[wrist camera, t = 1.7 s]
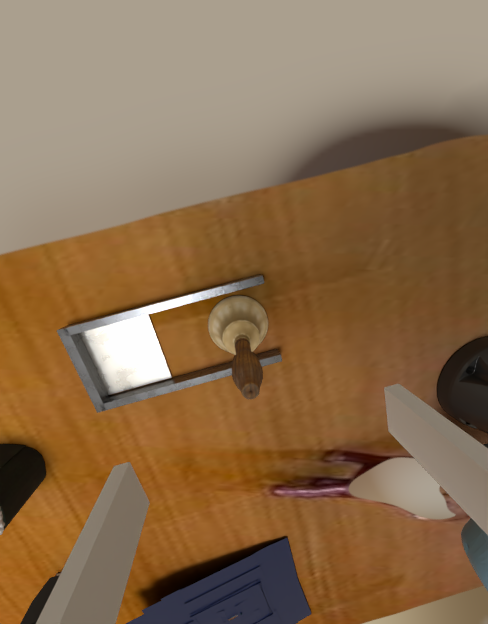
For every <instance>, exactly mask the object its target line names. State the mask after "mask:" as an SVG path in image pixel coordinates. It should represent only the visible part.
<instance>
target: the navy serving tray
mask: <svg viewBox="0 0 488 624" xmlns="http://www.w3.org/2000/svg"><path fill="white" fill-rule="evenodd" d="M161 600H162V601H160V602H158V603H156V604H154V605H152V606H150V607H148V608H146V609H144V610H142V611H143V613H144V615H142V616H140V617H138V618H136V619H134V620H132V621H130V622H128V623H126V624H296V623H298V621H300V620H302V619H304V618H305V617H307V616H309V615H310V614H311V611H310V609H309V606H308V604H307V601H306V599H305V596H304V594H303V591H302V589H301V586H300V584H299V581H298V578H297V574H296V570H295V566H294V562H293V558H292V554H291V550H290V546H289V542H288V538H285V539H283V540H281V541H279V542H276V543H274V544H272V545H269V546H267V547H265V548H263V549H261V550H260V551H258V552H256V553H254V554H252V555H251V556H249V557H247V558H245V559H243V560H241V561H239V562H237V563H235V564H233V565H231V566H229V567H227V568H225V569H223V570H220V571H218V572H216V573H214V574H212V575H210V576H208V577H206V578H204V579H202V580H200V581H198V582H196V583H194V584H192V585H190V586H188V587H186V588H182V589H180V590H178V591H176V592H174V593H172V594H170V595H168V596H166V597H164V598H162V599H161Z"/></svg>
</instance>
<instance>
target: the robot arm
mask: <svg viewBox="0 0 488 624" xmlns="http://www.w3.org/2000/svg"><path fill="white" fill-rule="evenodd" d="M384 390H385V400H386V410H387V420H388V430H389V432H390V433H391V434H392V435H393V436H394V437H395V438H396V439H397V441H398V442H399V443H400V444H401V445H402V446H403V447H404V448H405V449H406V450H407V451H408V452H409V453H410V454H411V455H412V456H413V457H414V458H415V459H416V460H417V462H418V463H419V464H420V465H421V466H422V467H423V468H424V469H425V470H426V471H427V472H428V473H429V474H430V475H431V476H432V477H433V478H434V479H435V480H436V481H437V483H438V484H439V485H440V486H441V487H442V488H443V489H444V490H445V491H446V492H447V493H448V494H449V495H450V496H451V497H452V498H453V499H454V500H455V501H456V502H457V504H458V505H459V506H460V507H461V508H462V509H463V510H464V511H465V512H466V513H467V514H468V515H469V516H470V517H471V519H470V520H469V521H468V522H467V523H466V524H465V526H464V527H463V529H462V532H461V538H462V543H463V547H464V550H465V552H466V554H467V556H468V558H469V561H470V563H471V565H472V567H473V568H474V570H475V572H476V573H477V575H478V577H479V578H480V580H481V582H482V583H483V585H484V586H485V588H486V589H487V591H488V444H484V445H482V444H481V443H480V442H478V441H477V440H476V439H474V438H473V437H471V436H470V435H469V434H467V433H466V432H465V431H463V430H462V429H460V428H459V427H458V426H456V425H455V424H453V423H452V422H451V421H449V420H448V419H447V418H445V417H444V416H442V415H441V414H440V413H438V412H437V411H436V410H434V409H433V408H431V407H430V406H429V405H427V404H426V403H425V402H423V401H422V400H420V399H419V398H418V397H416V396H415V395H414V394H412V393H411V392H409V391H408V390H407V389H405V388H404V387H402V386H401V385H400V384H395V385H392V386H389V387H385V388H384ZM437 393H438V399H439V402H440V405H441V406H442V408H443V409H444V410H445V411H446V412H447V413H448V414H449V415H451V416H452V417H454V418H455V419H457V420H458V421H459V422H461V423H463V424H465V425H467V426H469V427H472V428H476V429H479V430H481V431H484V432H486V433H488V337H484V338H480V339H477V340H475V341H472V342H470V343H469V344H467V345H465V346H464V347H462V348H461V349H460V350H459V351H457V352H456V353H455V354H454V355H453V356H452V357H451V359H450V360H449V361H448V363H447V364H446V365H445V367H444V369H443V371H442V373H441V375H440V378H439V382H438V388H437ZM149 503H150V502H149V500H148V498H147V496H146V494H145V492H144V490H143V488H142V486H141V484H140V482H139V480H138V478H137V476H136V474H135V472H134V470H133V468H132V466H131V464H130V462H127V463H124V464H120V465H117V466H114V467H113V469H112V471H111V473H110V475H109V477H108V479H107V481H106V484H105V486H104V488H103V490H102V492H101V494H100V496H99V498H98V500H97V502H96V504H95V506H94V508H93V510H92V512H91V514H90V516H89V518H88V520H87V522H86V524H85V526H84V528H83V530H82V532H81V534H80V536H79V538H78V540H77V542H76V544H75V546H74V548H73V550H72V552H71V554H70V556H69V558H68V560H67V562H66V564H65V566H64V568H63V570H62V572H61V574H60V575H58V576H55V577H52V578H50V579H49V580H48V581H47V583H46V584H45V585H44V587H43V588H42V589H41V591H40V592H39V593H38V595H37V596H36V597H35V599H34V600H33V601H32V603H31V605H30V607H29V609H28V611H27V612H26V614H25V616H24V618H23V620H22V622H21V624H115V623H116V620H117V616H118V613H119V609H120V605H121V602H122V598H123V595H124V591H125V588H126V584H127V581H128V577H129V574H130V570H131V566H132V563H133V559H134V556H135V552H136V549H137V545H138V542H139V538H140V535H141V531H142V527H143V524H144V520H145V517H146V513H147V510H148V506H149Z"/></svg>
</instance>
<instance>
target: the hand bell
mask: <svg viewBox="0 0 488 624" xmlns="http://www.w3.org/2000/svg"><path fill="white" fill-rule="evenodd" d="M208 330H209V334H210V336H211V338H212V340H213V341H214V343H215V344H216V345H217V346H219V347H220V348H221V349H223V350H225V351H228V352H230V353H232V354H234V355H235V357H234V359H233V362H232V377H233V380H234V382H235V384H236V386H237V387H238V389H239V390H240V391H241V392H242V395H243V396H244V397H245V398H246V399H254V398H256V397H257V396H258V395H259V390H260V385H261V383H262V379H263V371H262V367H261V363H260V361H259V359H258V357H257V356H256V355H255V354H254V353H253V351H254V350H255V349H256V348H257V346H258V345H259V344H260V343H261V342H262V341H263V339H264V338H265V336H266V333H267V330H268V318H267V314H266V312H265V310H264V308H263V307H262V306H261V305H260V304H259V303H258V302H257V301H256V300H254V299H252V298H250V297H247V296H240V295H238V296H231V297H228V298H225V299H223V300H222V301H220V302H219V303H218V304H217V305H216V306H215V307H214V308H213V310H212V311H211V313H210V316H209V320H208Z"/></svg>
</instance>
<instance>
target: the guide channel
mask: <svg viewBox="0 0 488 624" xmlns="http://www.w3.org/2000/svg"><path fill="white" fill-rule="evenodd" d="M260 284H264V280H263V275H261V274H259V275H255V276H251V277H247V278H244V279H240V280H236V281H232V282H229V283H225V284H221V285H217V286H214V287H210V288H206V289H202V290H199V291H195V292H191V293H187V294H184V295H180V296H176V297H172V298H169V299H165V300H161V301H157V302H153V303H150V304H146V305H142V306H138V307H135V308H131V309H127V310H123V311H120V312H116V313H112V314H108V315H105V316H101V317H97V318H93V319H90V320H86V321H82V322H78V323H75V324H71V325H67V326H65V327H63V328H61V329H59V330H57V332H58V334H59V336H60V338H61V340H62V342H63V344H64V346H65V348H66V350H67V352H68V354H69V356H70V358H71V360H72V362H73V364H74V366H75V368H76V370H77V372H78V374H79V376H80V378H81V380H82V382H83V384H84V386H85V388H86V390H87V392H88V394H89V396H90V399H91V401H92V403H93V405H94V407H95V409H96V411H97V413H98V412H101V411H105V410H108V409H112V408H116V407H119V406H123V405H126V404H130V403H133V402H137V401H141V400H144V399H148V398H151V397H155V396H159V395H162V394H166V393H169V392H173V391H176V390H180V389H184V388H187V387H191V386H194V385H198V384H201V383H205V382H209V381H212V380H216V379H219V378H223V377H227V376H230V375H232V362H233V361H231V362H227V363H224V364H220V365H217V366H213V367H209V368H206V369H202V370H199V371H195V372H191V373H188V374H184V375H181V376H177V377H173V378H172V375H171V372H170V370H169V367H168V364H167V362H166V359H165V356H164V354H163V351H162V348H161V346H160V343H159V341H158V338H157V335H156V333H155V330H154V327H153V325H152V322H151V319H150V317H149V314H152V313H155V312H159V311H163V310H166V309H170V308H174V307H178V306H181V305H185V304H189V303H193V302H196V301H200V300H204V299H208V298H211V297H215V296H219V295H222V294H226V293H230V292H234V291H237V290H241V289H245V288H249V287H252V286H256V285H260ZM256 356H257V357H258V359H259V361H260V363H261V367H262V366H266V365H269V364H273V363H277V362H280V361H282V358H281V354H280V352H279V351H278V349H274V350H271V351H267V352H263V353H260V354H256ZM168 378H170V379H168ZM165 379H166V380H165ZM161 380H163V381H161ZM158 381H159V382H158ZM154 382H155V383H154ZM150 383H152V384H150ZM147 384H148V385H147ZM143 385H144V386H143ZM140 386H141V387H140ZM136 387H137V388H136ZM132 388H134V389H132ZM129 389H130V390H129ZM125 390H126V391H125ZM122 391H123V392H122ZM118 392H119V393H118ZM114 393H116V394H114ZM111 394H112V395H111Z"/></svg>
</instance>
